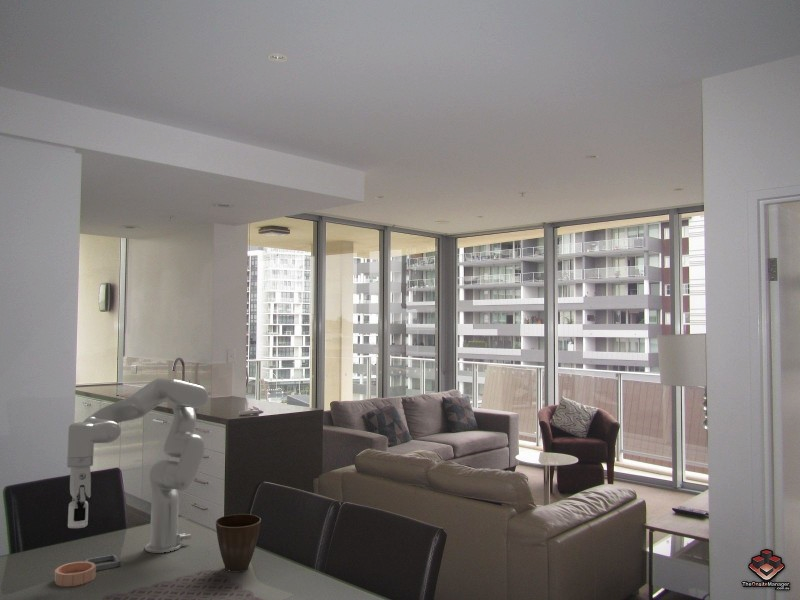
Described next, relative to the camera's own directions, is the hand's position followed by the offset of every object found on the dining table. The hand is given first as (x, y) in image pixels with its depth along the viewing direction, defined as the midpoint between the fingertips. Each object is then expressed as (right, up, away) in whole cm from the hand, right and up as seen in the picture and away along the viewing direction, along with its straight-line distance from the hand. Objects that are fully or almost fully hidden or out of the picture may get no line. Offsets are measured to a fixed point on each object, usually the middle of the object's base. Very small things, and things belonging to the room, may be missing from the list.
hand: (78, 518), depth 204 cm
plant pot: (+49, -21, +10) cm, 54 cm away
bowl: (0, -19, -1) cm, 19 cm away
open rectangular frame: (+2, -20, +11) cm, 23 cm away
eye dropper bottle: (0, -3, 0) cm, 3 cm away
